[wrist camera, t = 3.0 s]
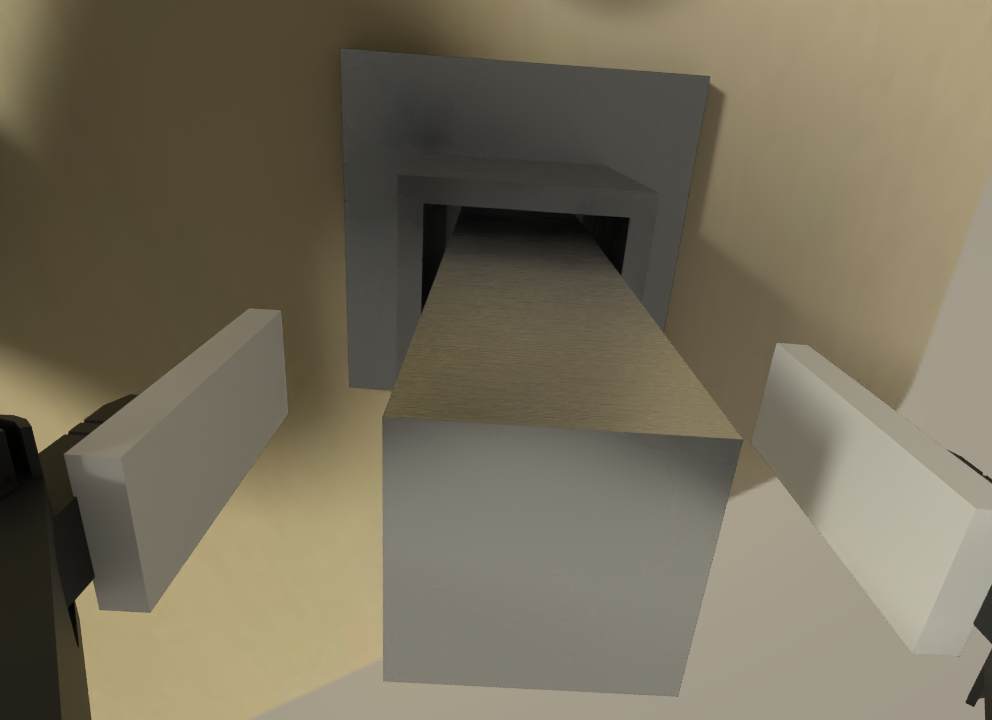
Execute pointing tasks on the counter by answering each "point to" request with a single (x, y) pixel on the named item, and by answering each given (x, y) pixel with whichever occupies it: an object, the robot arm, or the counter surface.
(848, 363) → the counter surface
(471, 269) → the column
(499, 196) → the stand
